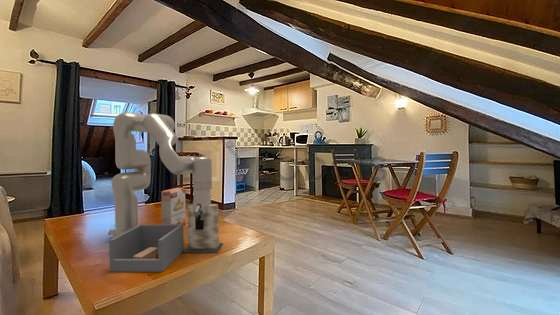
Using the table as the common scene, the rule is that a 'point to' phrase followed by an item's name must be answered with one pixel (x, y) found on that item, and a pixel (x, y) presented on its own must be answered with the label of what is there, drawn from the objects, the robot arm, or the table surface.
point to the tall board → (210, 231)
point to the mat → (203, 250)
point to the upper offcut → (147, 253)
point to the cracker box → (173, 206)
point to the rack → (141, 239)
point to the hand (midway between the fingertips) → (203, 226)
